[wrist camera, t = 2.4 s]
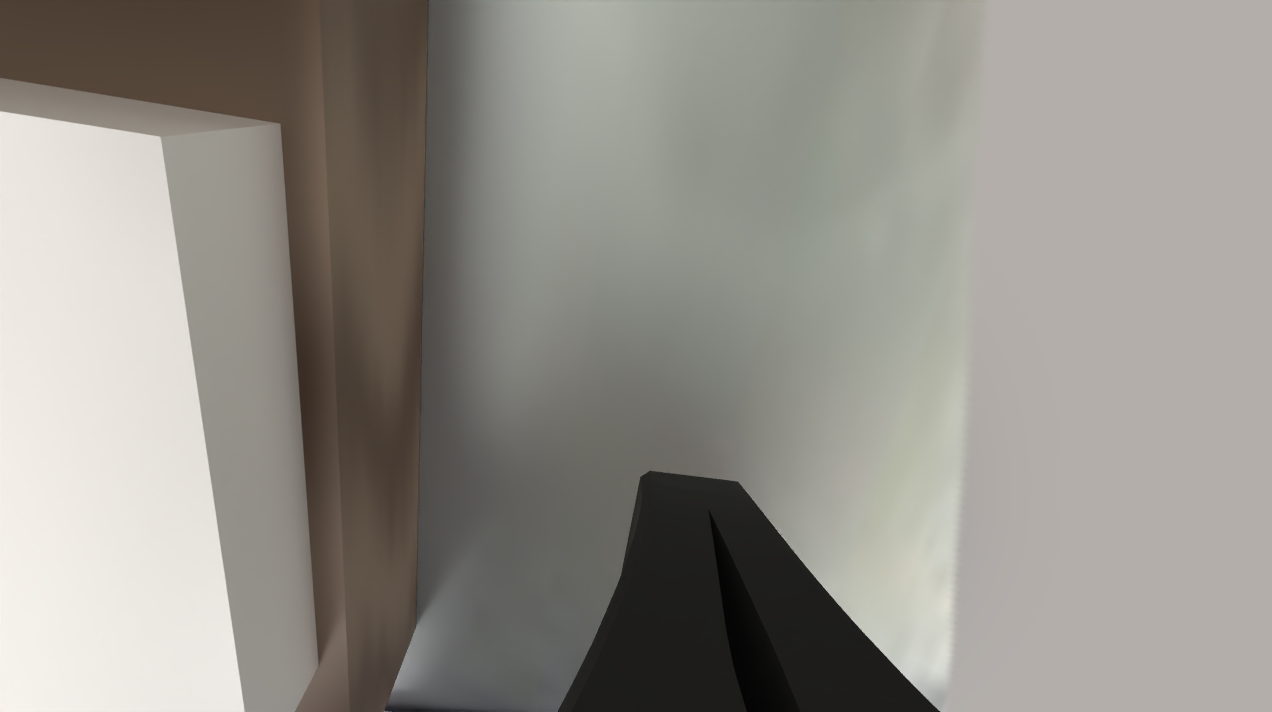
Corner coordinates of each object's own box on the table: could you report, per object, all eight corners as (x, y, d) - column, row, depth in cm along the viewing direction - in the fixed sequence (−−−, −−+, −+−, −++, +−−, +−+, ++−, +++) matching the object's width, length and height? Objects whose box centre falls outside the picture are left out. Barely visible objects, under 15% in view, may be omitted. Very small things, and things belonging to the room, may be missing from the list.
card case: (318, 665, 11) (255, 786, 9) (-53, 632, 10) (-201, 752, 8) (280, 123, 7) (161, 137, 5) (-299, 28, 7) (-655, 6, 5)
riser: (415, 627, 16) (353, 791, 12) (0, 587, 15) (-203, 750, 11) (430, -126, 9) (307, -262, 6) (-295, -272, 8) (-989, -543, 5)
